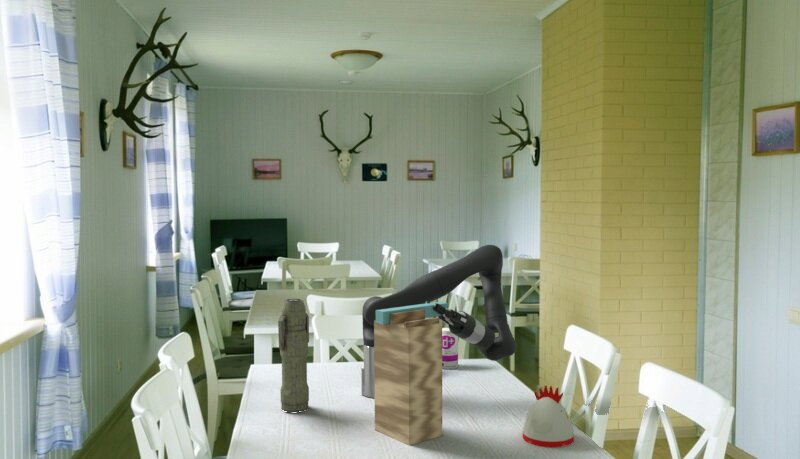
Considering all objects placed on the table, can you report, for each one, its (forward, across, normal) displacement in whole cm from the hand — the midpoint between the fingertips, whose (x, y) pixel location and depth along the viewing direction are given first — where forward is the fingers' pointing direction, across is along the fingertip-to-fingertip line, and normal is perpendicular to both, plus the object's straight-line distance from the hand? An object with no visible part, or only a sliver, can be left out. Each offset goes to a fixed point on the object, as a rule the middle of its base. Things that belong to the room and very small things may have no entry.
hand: (430, 305), depth 212 cm
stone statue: (+3, -38, +43) cm, 58 cm away
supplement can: (-61, -48, +6) cm, 78 cm away
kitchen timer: (-33, +30, +22) cm, 50 cm away
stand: (-9, +3, +36) cm, 37 cm away
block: (+4, 0, +6) cm, 7 cm away
